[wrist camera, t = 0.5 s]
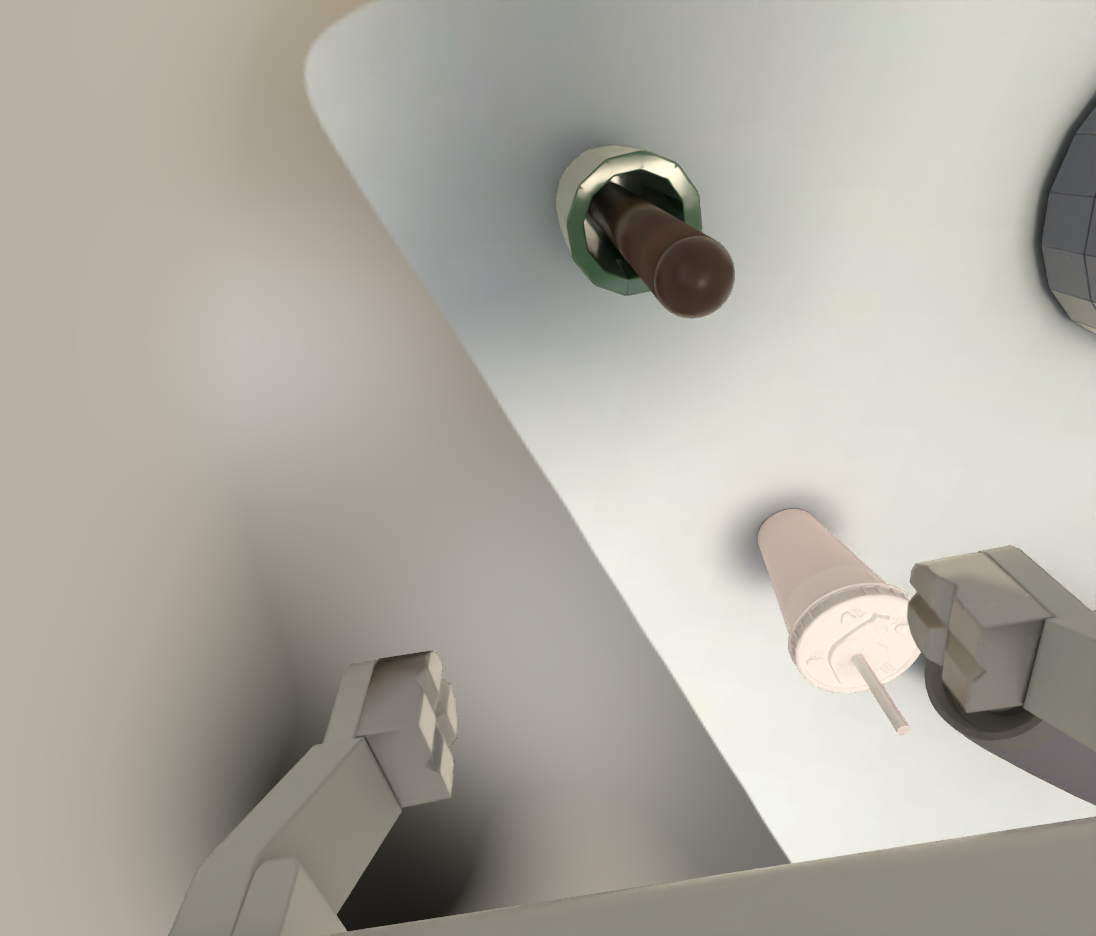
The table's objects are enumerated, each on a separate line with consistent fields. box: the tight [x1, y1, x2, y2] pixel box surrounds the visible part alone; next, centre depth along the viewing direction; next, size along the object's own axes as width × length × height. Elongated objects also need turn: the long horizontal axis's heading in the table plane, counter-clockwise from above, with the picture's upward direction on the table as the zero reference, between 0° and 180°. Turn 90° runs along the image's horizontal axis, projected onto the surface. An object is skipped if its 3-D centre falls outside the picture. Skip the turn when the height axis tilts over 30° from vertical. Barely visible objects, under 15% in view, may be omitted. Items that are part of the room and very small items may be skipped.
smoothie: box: [758, 509, 921, 735], centre depth 33 cm, size 6×6×14 cm
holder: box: [555, 145, 702, 296], centre depth 26 cm, size 5×5×9 cm
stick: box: [589, 182, 735, 318], centre depth 22 cm, size 2×2×18 cm
